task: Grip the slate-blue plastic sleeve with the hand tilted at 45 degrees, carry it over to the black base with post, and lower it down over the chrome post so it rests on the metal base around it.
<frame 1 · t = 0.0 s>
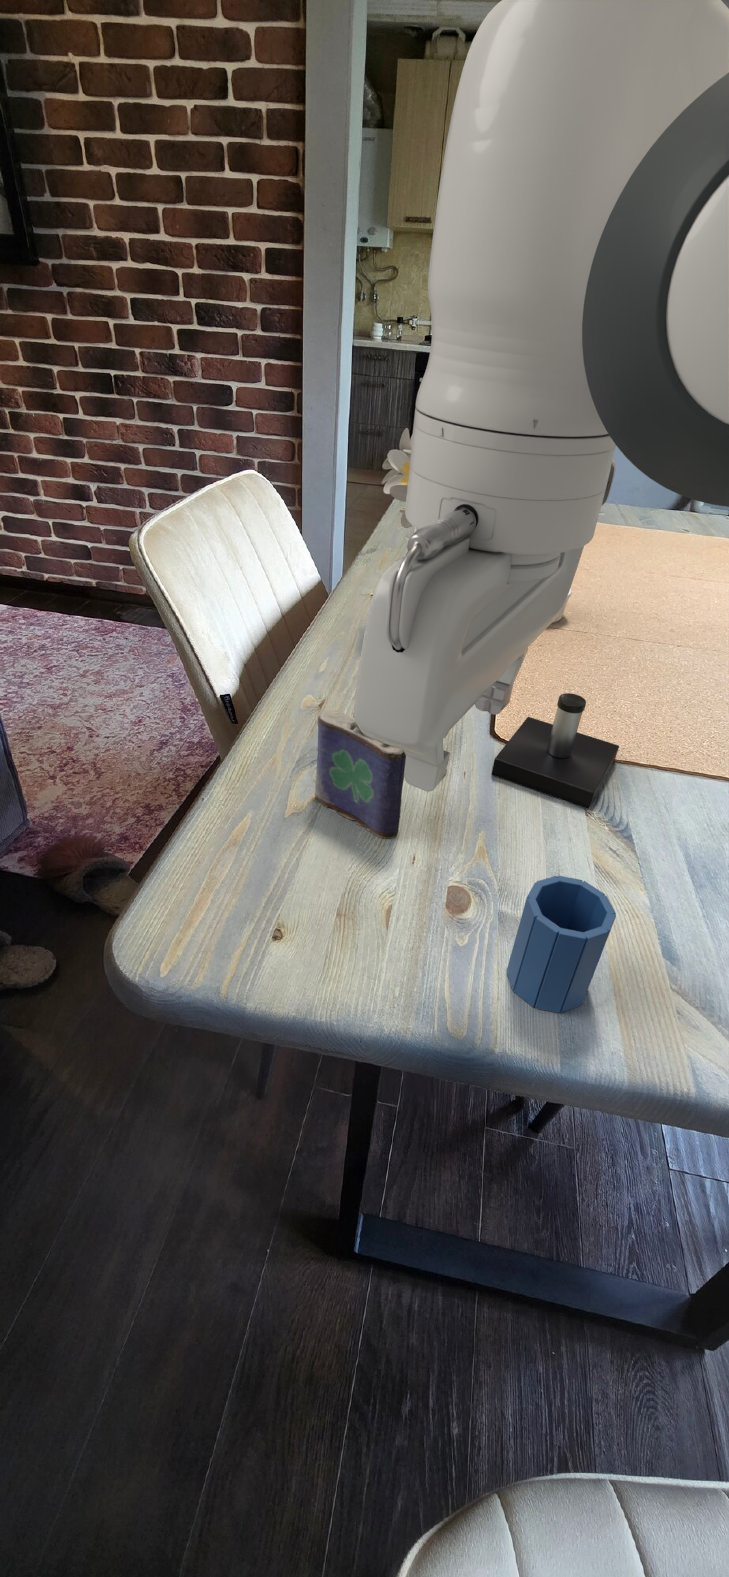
hand: (460, 741, 42), 19 cm above the table, tool pointing down, fingers open, 8 cm apart
sleeve: (546, 979, 53), on the table
flower vase: (417, 634, 100), on the table
black base with post: (554, 768, 75), on the table
ramekin: (534, 615, 108), on the table
flask: (356, 815, 67), on the table
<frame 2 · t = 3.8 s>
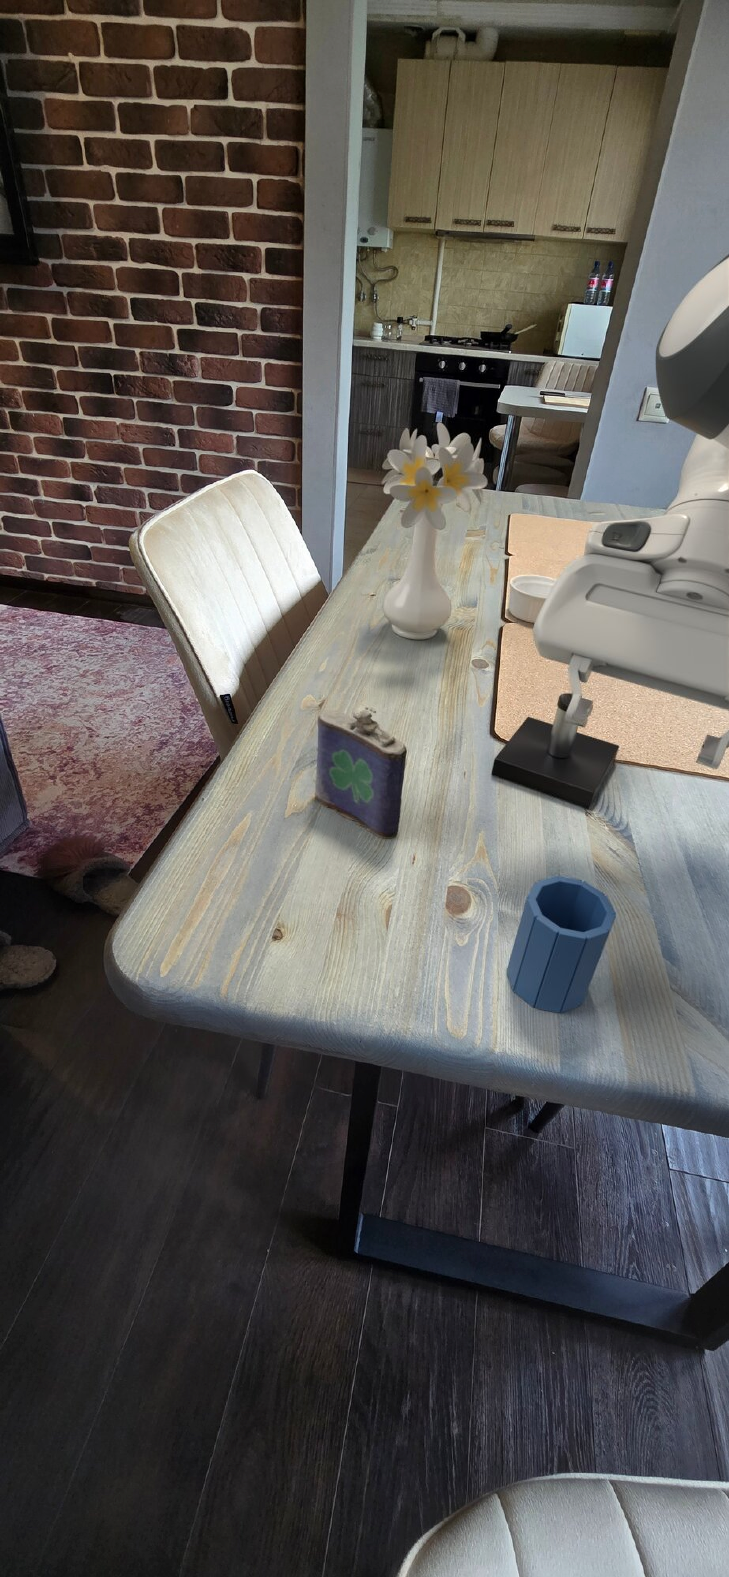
hand: (638, 743, 53), 14 cm above the table, tool tilted 45°, fingers open, 8 cm apart
nothing on the table moved.
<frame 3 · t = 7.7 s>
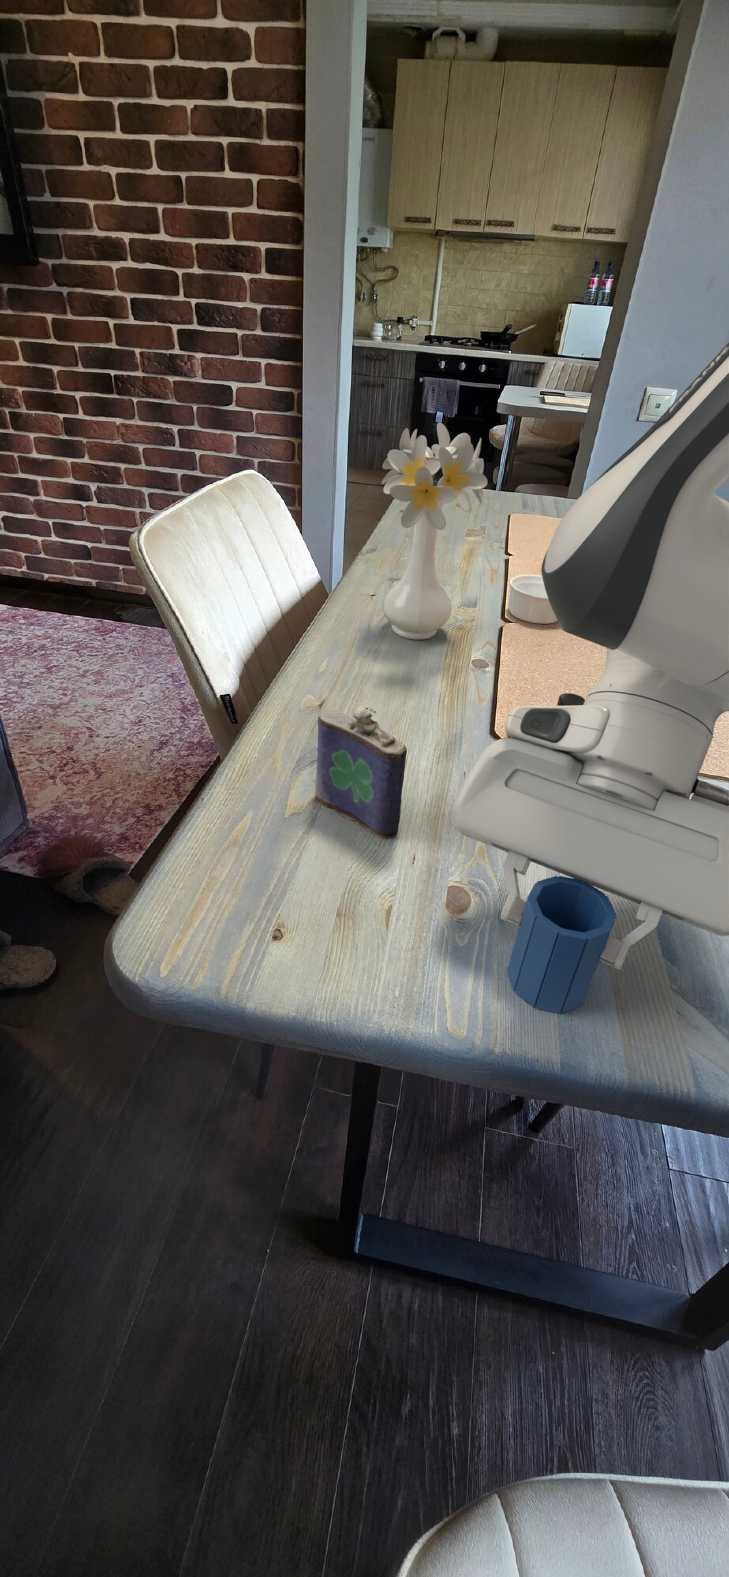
hand: (557, 943, 50), 4 cm above the table, tool tilted 45°, fingers closed on sleeve, 5 cm apart
sleeve: (547, 979, 53), on the table, touching gripper
everything else where it was.
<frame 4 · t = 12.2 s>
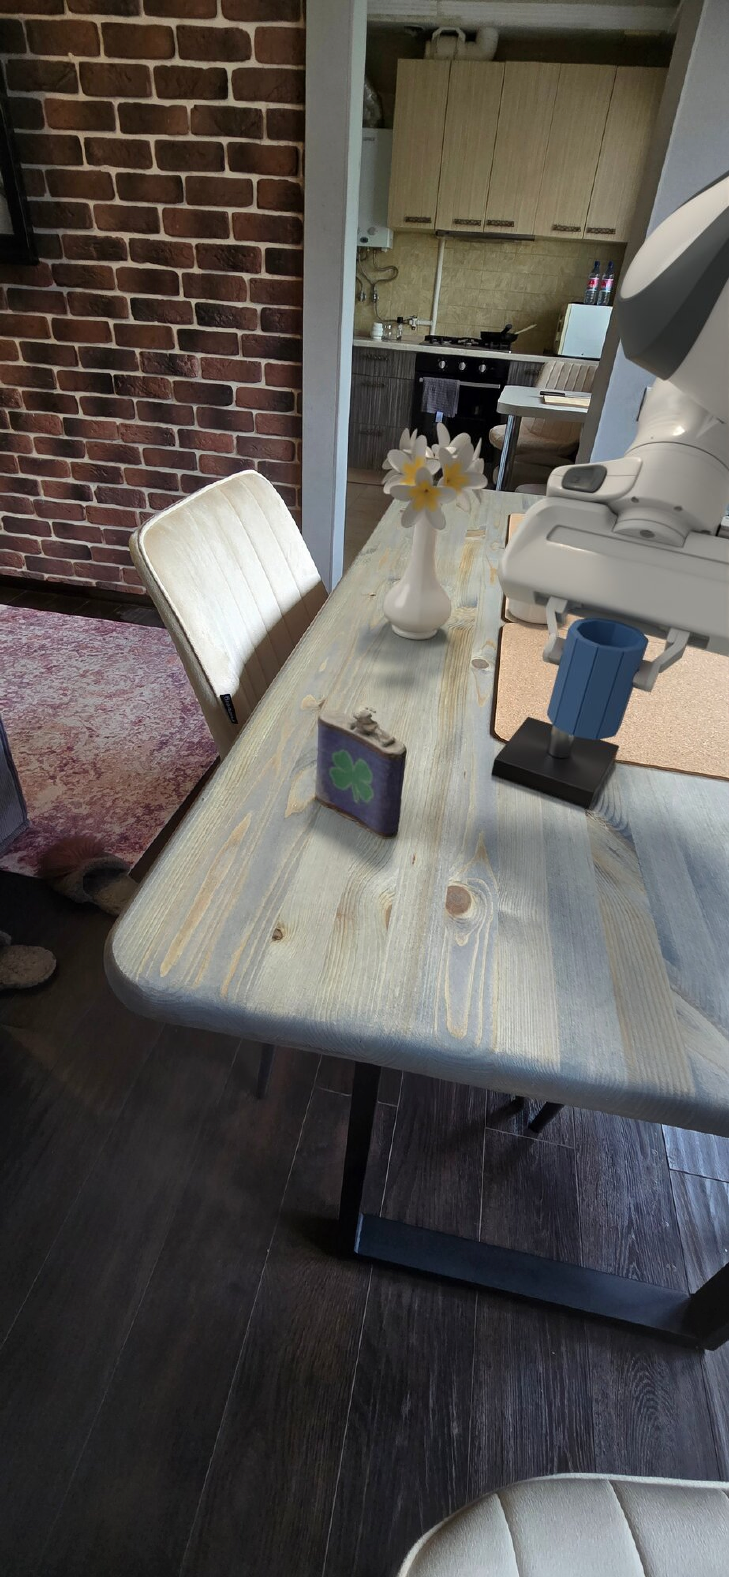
hand: (594, 674, 56), 17 cm above the table, tool tilted 45°, fingers closed on sleeve, 5 cm apart
sleeve: (583, 720, 59), point 12 cm above the table, touching gripper
everything else where it was.
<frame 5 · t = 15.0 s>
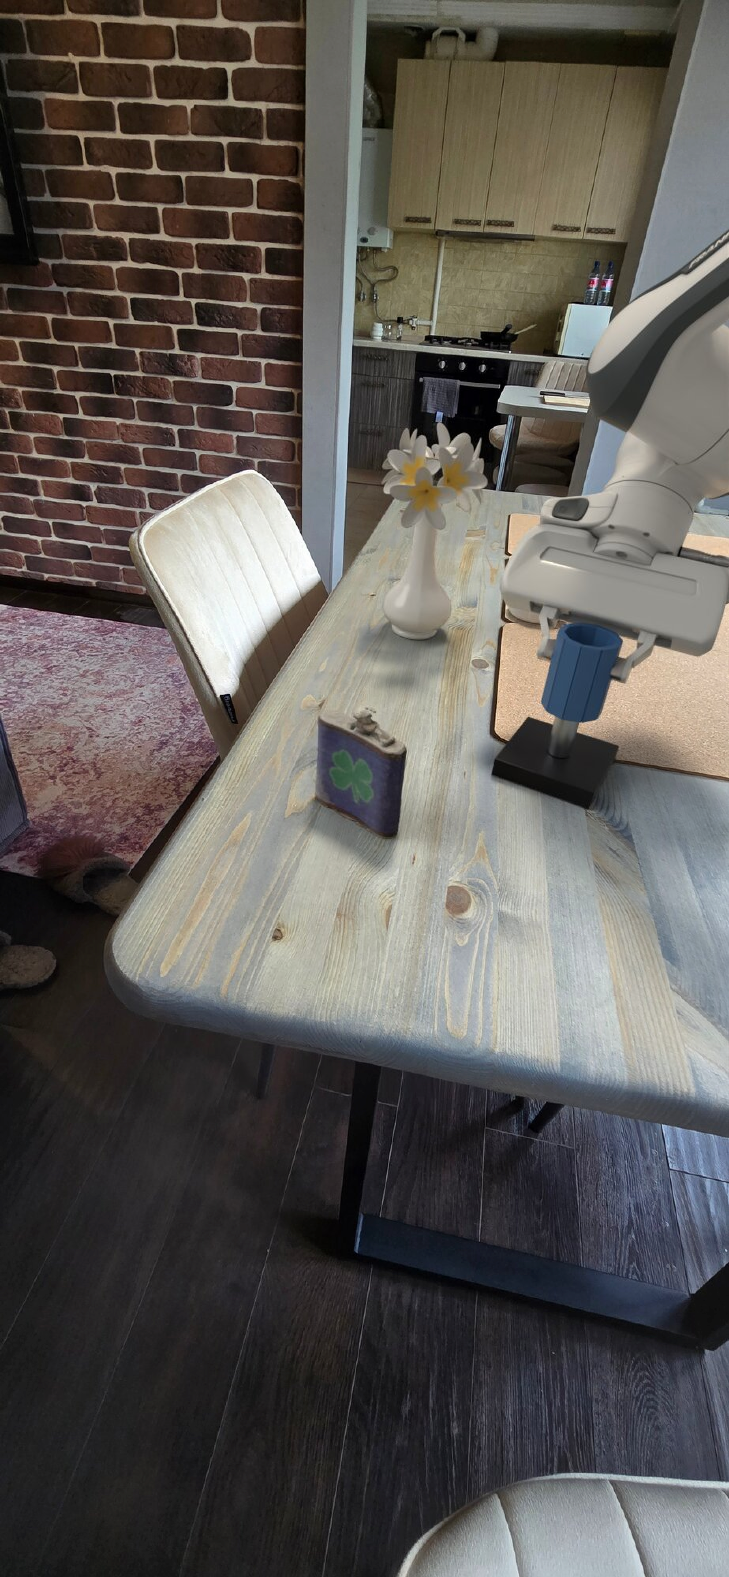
hand: (579, 669, 68), 12 cm above the table, tool tilted 45°, fingers closed on sleeve, 5 cm apart
sleeve: (571, 707, 71), point 7 cm above the table, touching gripper
everything else where it was.
when the fingers open (6 cm above the table, at t = 17.0 s): sleeve stays where it is, resting on black base with post.
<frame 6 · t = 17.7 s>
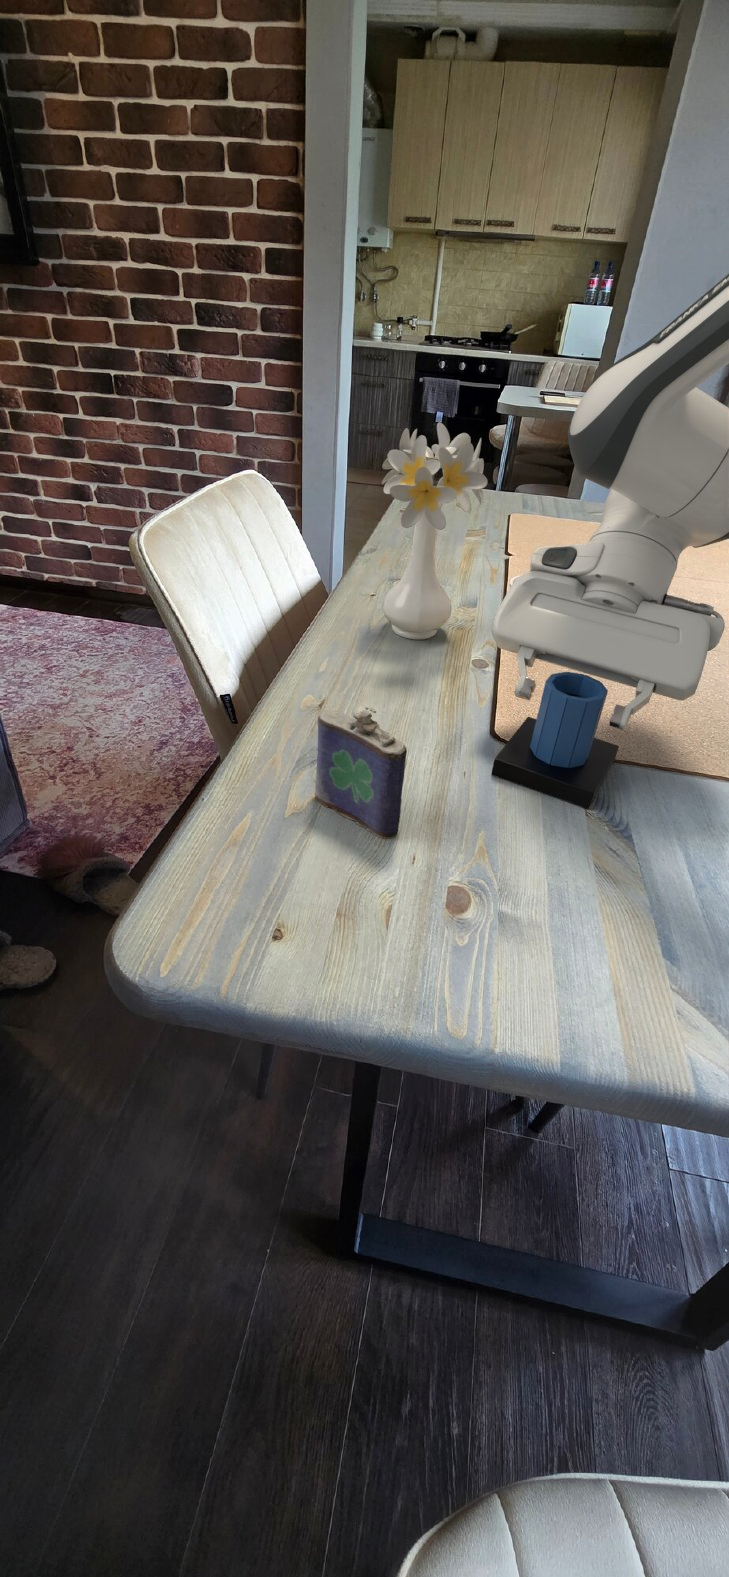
hand: (568, 711, 71), 7 cm above the table, tool tilted 45°, fingers open, 8 cm apart
sleeve: (559, 751, 74), point 2 cm above the table, touching black base with post
everything else where it was.
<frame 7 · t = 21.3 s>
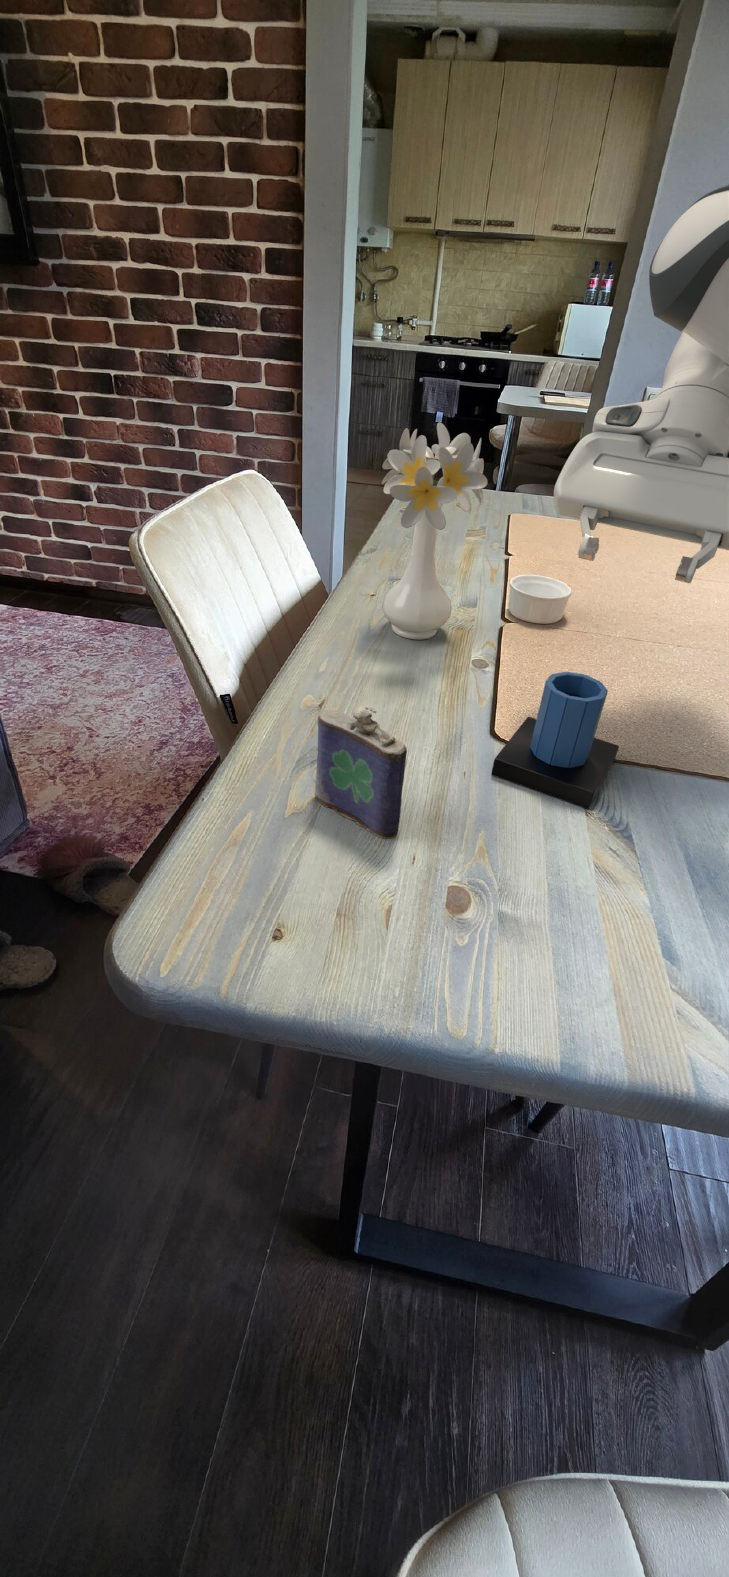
hand: (633, 567, 71), 18 cm above the table, tool tilted 45°, fingers open, 8 cm apart
nothing on the table moved.
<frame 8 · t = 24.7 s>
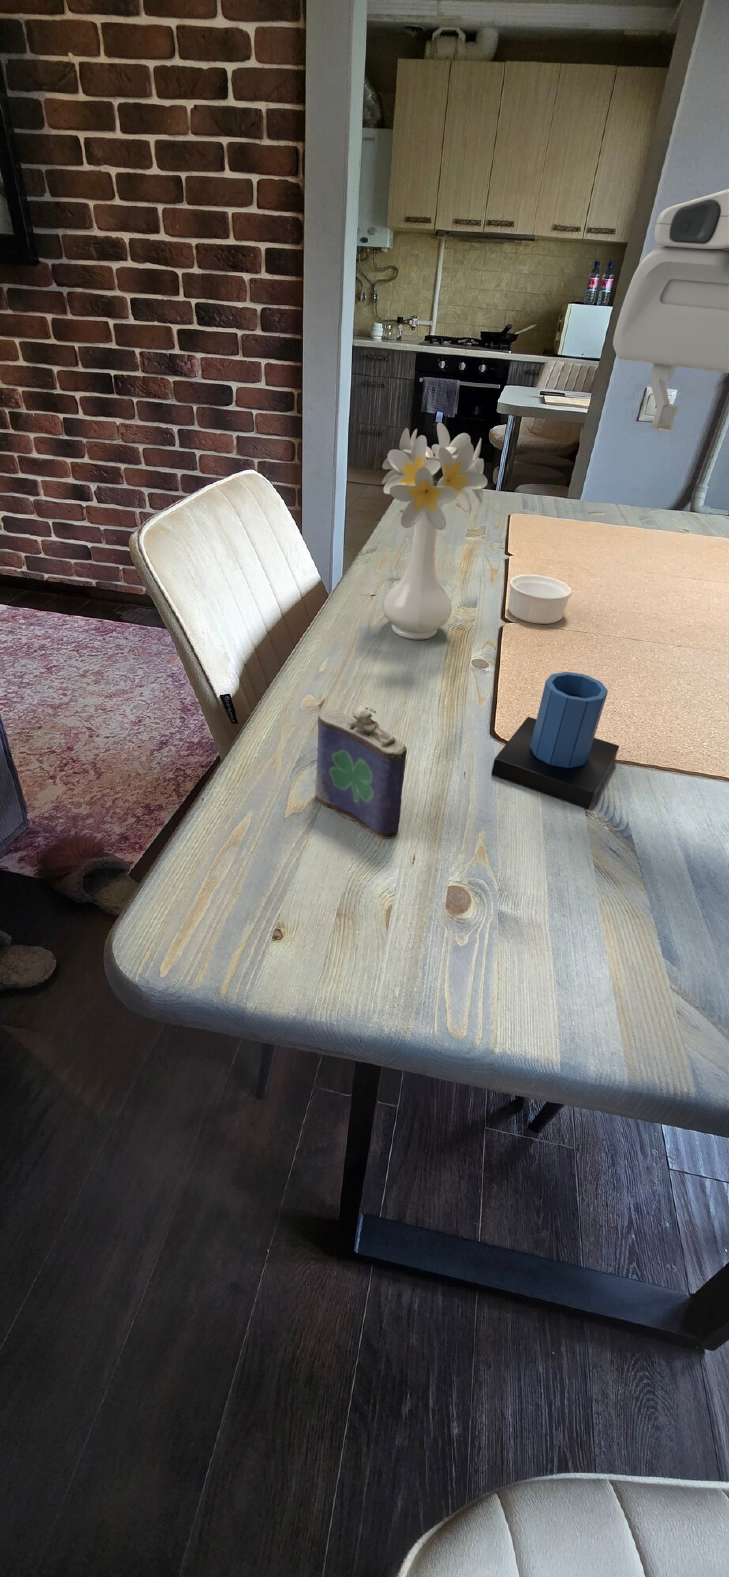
hand: (720, 438, 60), 31 cm above the table, tool pointing down, fingers open, 8 cm apart
nothing on the table moved.
at the end: sleeve 0.0 cm off-centre on the black base with post, point 2.0 cm above the black base with post's base; sleeve tilted 0°; the gripper is holding nothing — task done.
